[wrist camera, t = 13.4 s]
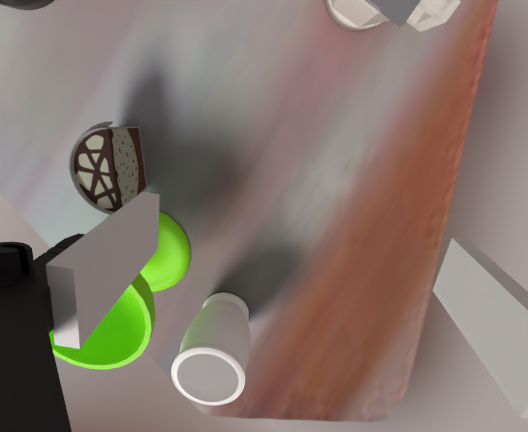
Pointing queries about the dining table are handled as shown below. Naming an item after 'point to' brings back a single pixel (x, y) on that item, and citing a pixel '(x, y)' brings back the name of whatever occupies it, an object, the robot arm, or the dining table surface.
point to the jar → (214, 352)
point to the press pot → (389, 13)
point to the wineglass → (133, 306)
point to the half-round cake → (108, 166)
